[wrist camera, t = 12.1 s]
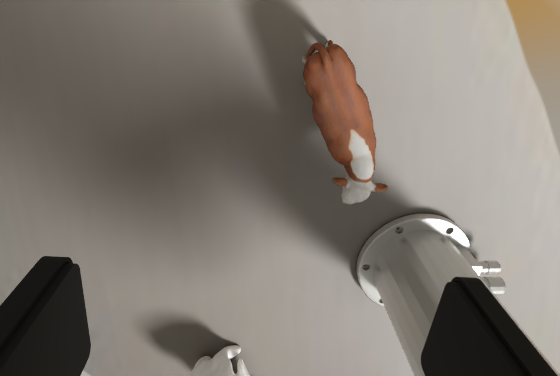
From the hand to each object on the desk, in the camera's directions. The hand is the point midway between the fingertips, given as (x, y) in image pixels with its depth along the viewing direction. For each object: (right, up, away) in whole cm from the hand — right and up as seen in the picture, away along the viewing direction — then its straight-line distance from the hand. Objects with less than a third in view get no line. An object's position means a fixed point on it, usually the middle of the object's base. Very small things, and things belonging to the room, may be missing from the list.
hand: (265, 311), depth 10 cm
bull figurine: (+5, +10, +25) cm, 28 cm away
